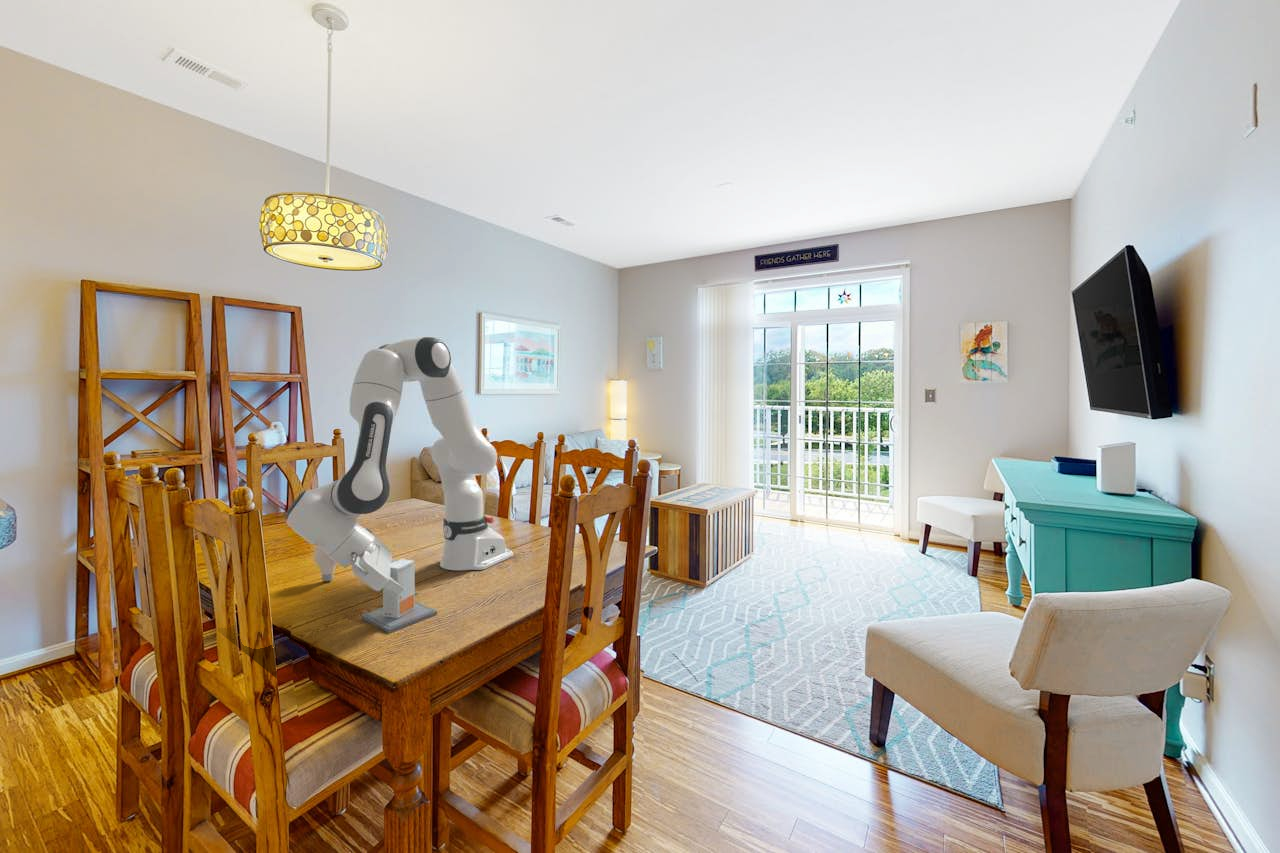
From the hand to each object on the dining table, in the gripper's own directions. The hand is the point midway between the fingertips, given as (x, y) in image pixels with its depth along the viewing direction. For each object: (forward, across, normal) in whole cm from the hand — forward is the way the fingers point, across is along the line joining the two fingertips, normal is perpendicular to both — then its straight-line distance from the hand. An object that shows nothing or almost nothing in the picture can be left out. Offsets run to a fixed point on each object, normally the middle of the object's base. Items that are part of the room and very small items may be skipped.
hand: (402, 583), depth 123 cm
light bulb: (-8, +31, +19) cm, 37 cm away
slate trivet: (+5, 0, +6) cm, 8 cm away
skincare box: (+5, 0, +6) cm, 7 cm away
